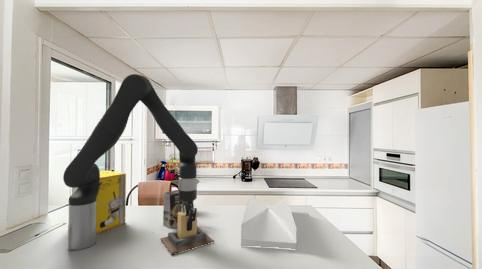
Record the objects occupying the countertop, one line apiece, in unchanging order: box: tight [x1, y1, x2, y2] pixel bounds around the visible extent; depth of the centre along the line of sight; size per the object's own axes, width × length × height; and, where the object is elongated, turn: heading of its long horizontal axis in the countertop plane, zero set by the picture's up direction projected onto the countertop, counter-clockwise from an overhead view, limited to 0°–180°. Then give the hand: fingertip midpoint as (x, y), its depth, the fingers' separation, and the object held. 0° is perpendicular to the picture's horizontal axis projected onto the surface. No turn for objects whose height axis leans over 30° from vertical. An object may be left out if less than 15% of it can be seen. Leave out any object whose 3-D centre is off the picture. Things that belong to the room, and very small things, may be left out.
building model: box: [240, 194, 297, 250], centre depth 114 cm, size 45×22×10 cm, turn 174°
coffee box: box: [162, 189, 180, 229], centre depth 114 cm, size 9×6×16 cm
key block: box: [176, 211, 198, 239], centre depth 96 cm, size 4×7×10 cm, turn 126°
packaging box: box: [71, 170, 127, 235], centre depth 110 cm, size 16×16×25 cm
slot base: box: [160, 226, 215, 256], centre depth 96 cm, size 18×14×4 cm
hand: (187, 228), depth 96 cm, fingers closed on key block, 4 cm apart
